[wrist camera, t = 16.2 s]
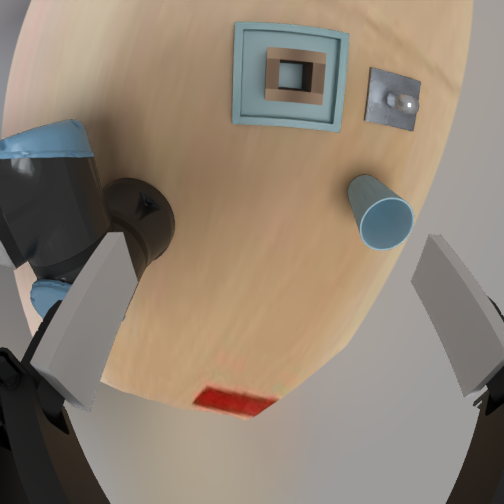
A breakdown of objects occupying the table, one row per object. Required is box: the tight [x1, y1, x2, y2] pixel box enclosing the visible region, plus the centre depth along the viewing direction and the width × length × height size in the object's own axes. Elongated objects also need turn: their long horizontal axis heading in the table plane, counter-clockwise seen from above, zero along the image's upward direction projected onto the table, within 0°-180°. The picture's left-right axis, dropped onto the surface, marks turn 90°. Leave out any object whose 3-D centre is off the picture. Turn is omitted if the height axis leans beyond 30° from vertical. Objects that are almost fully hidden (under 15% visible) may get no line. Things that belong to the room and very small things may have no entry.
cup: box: [348, 175, 414, 250], centre depth 36 cm, size 8×8×10 cm
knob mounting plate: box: [364, 67, 421, 131], centre depth 29 cm, size 8×8×6 cm
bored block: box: [264, 47, 327, 106], centre depth 28 cm, size 6×6×8 cm
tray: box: [232, 22, 349, 133], centre depth 30 cm, size 14×14×2 cm
